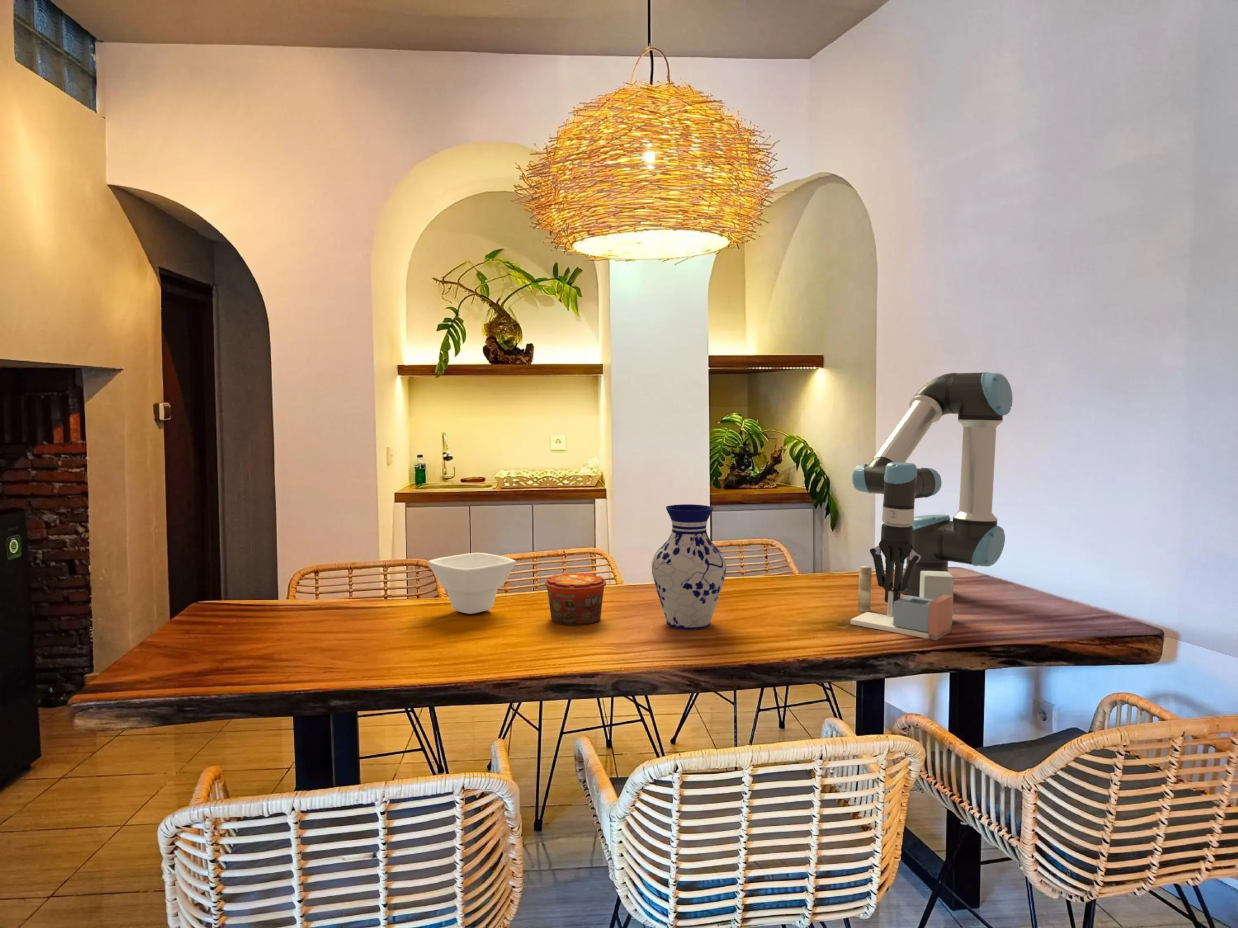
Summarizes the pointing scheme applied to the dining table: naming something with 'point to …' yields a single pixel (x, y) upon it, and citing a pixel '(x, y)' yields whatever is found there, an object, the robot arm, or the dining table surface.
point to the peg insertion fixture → (937, 628)
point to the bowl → (472, 579)
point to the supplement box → (936, 585)
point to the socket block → (912, 613)
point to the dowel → (864, 589)
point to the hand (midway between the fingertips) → (891, 615)
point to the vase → (688, 569)
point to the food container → (575, 598)
